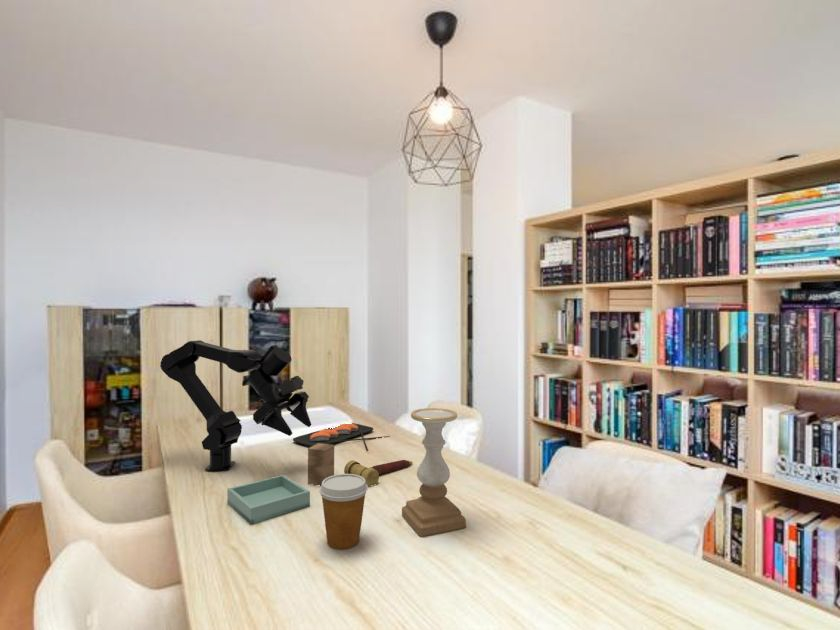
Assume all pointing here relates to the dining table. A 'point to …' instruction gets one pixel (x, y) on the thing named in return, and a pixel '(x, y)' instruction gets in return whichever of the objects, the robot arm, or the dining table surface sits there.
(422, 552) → the dining table surface
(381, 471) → the gavel
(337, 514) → the disposable coffee cup
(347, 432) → the sushi plate
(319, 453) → the walnut block
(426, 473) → the candle holder
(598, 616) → the dining table surface
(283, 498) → the box
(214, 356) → the robot arm
